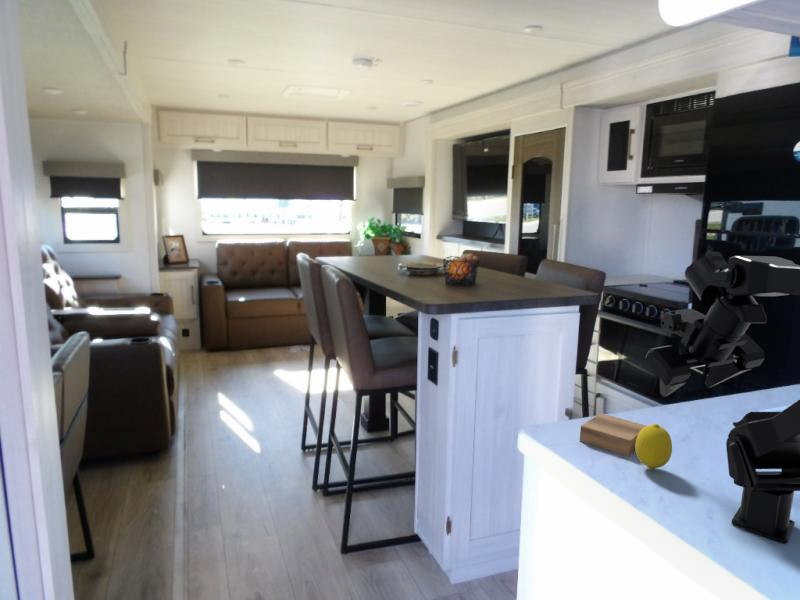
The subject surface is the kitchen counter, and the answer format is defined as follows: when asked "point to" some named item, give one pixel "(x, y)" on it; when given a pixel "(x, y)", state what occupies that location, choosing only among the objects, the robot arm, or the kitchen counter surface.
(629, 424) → the walnut block
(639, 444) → the lemon
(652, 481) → the kitchen counter surface
